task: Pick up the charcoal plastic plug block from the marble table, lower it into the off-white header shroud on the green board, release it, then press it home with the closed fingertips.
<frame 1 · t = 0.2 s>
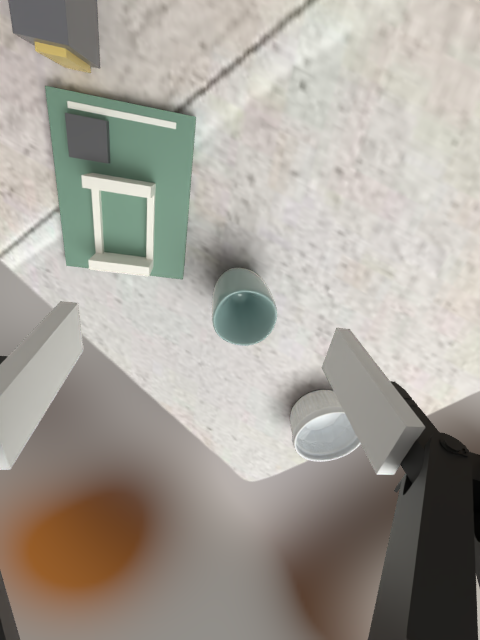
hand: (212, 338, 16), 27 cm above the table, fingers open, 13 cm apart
cup: (237, 285, 44), on the table
plug: (76, 24, 29), on the table
board: (127, 196, 37), on the table
ramekin: (317, 408, 59), on the table
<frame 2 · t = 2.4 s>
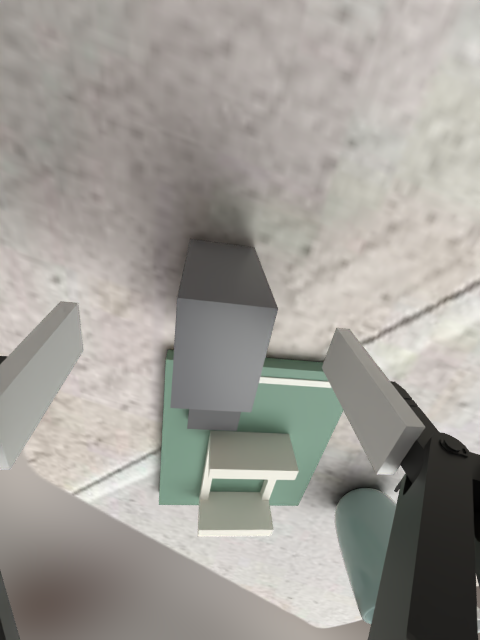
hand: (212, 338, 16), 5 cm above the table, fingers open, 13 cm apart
cup: (358, 495, 36), on the table
plug: (217, 287, 20), on the table
board: (244, 437, 28), on the table
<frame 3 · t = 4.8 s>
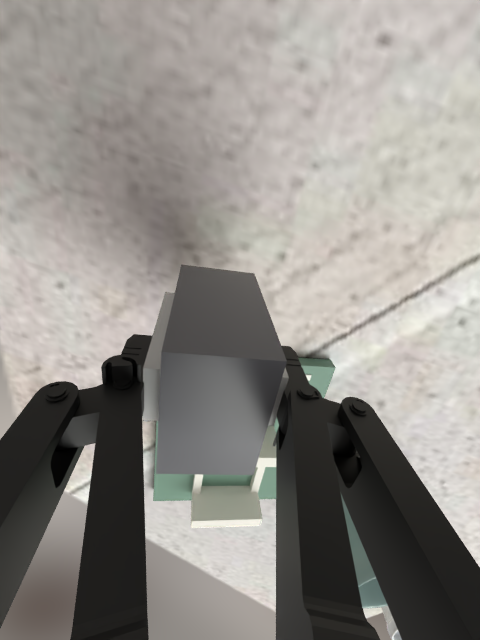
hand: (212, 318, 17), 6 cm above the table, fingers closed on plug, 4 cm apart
cup: (343, 488, 38), on the table
plug: (212, 316, 18), point 5 cm above the table, touching gripper
board: (233, 431, 30), on the table
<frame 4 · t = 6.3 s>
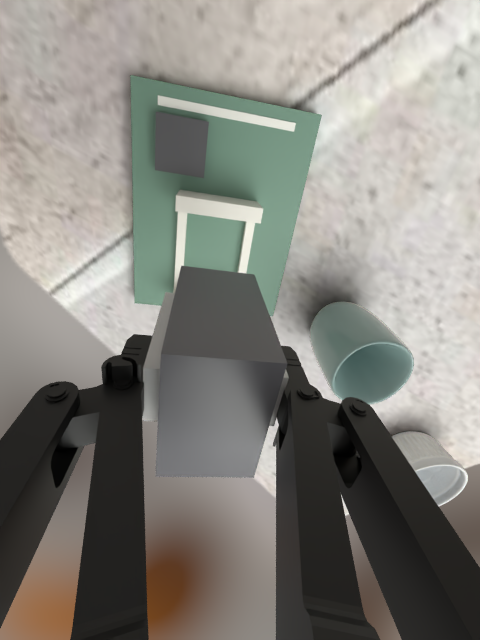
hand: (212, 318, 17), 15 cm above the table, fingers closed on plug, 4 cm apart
cup: (333, 320, 36), on the table
plug: (212, 317, 18), point 15 cm above the table, touching gripper
board: (216, 218, 29), on the table
ramekin: (399, 450, 51), on the table
when the fingers open (3 cm above the table, at t = 8.1 s): plug drops 2 cm, resting on board.
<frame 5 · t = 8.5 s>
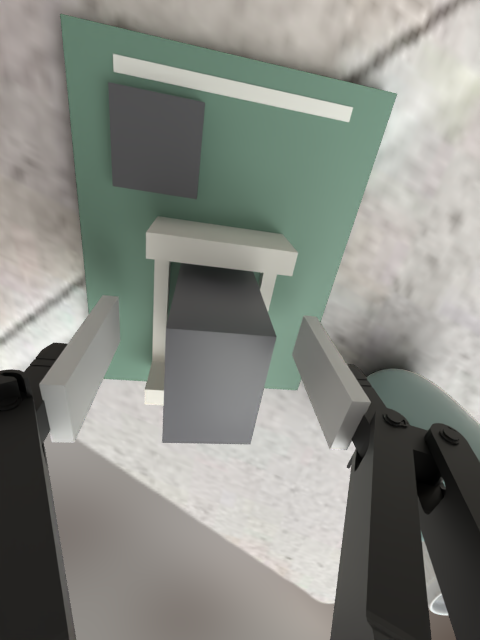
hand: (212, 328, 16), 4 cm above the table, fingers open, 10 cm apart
cup: (378, 388, 26), on the table
plug: (212, 305, 19), point 1 cm above the table, touching board
board: (216, 256, 19), on the table
ramekin: (443, 527, 41), on the table
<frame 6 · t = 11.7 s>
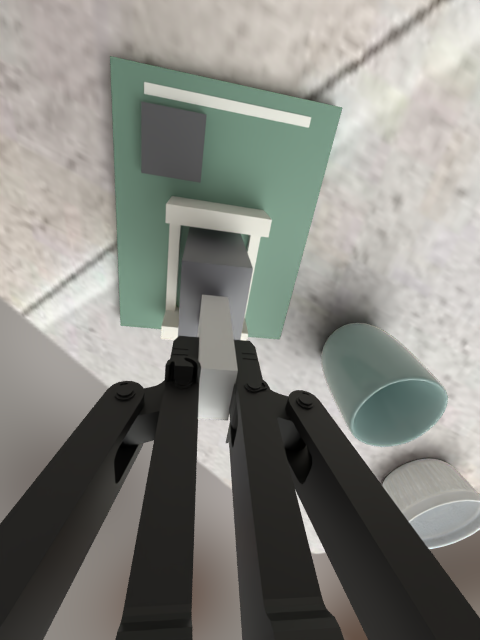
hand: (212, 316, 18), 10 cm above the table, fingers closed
cup: (347, 342, 32), on the table
plug: (211, 265, 25), point 1 cm above the table, touching board
board: (215, 228, 25), on the table
ramekin: (413, 477, 47), on the table
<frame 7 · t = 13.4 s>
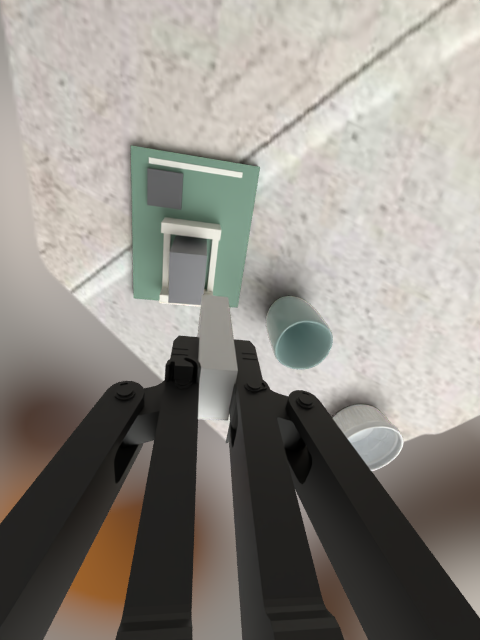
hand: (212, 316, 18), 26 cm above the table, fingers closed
cup: (285, 310, 48), on the table
plug: (190, 258, 41), point 1 cm above the table, touching board
board: (192, 235, 40), on the table
ramekin: (353, 421, 62), on the table
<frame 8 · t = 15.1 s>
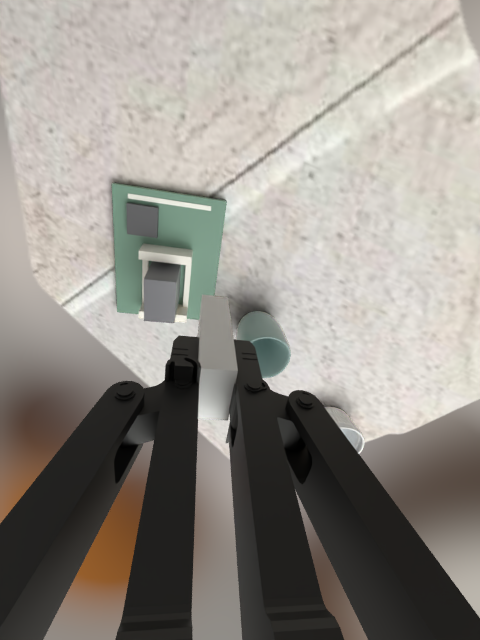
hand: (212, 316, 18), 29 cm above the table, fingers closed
cup: (255, 323, 53), on the table
plug: (167, 278, 46), point 1 cm above the table, touching board
board: (168, 258, 45), on the table
ramekin: (322, 422, 68), on the table
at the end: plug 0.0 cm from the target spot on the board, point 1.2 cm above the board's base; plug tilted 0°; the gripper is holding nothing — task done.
